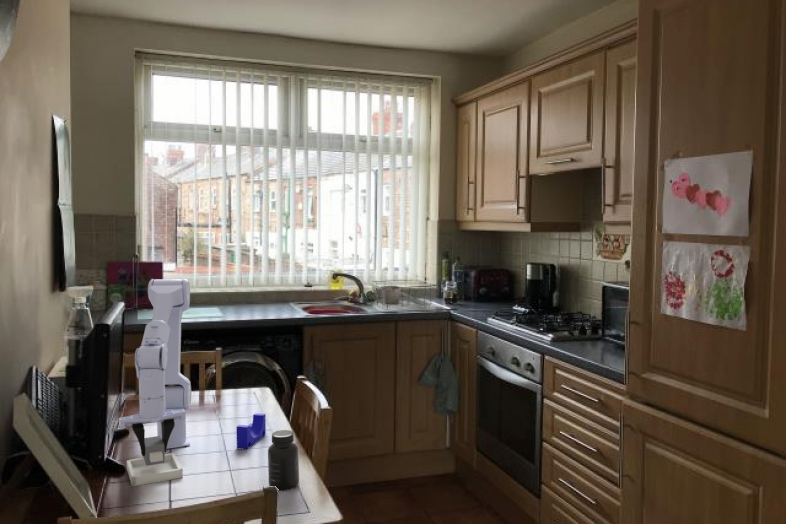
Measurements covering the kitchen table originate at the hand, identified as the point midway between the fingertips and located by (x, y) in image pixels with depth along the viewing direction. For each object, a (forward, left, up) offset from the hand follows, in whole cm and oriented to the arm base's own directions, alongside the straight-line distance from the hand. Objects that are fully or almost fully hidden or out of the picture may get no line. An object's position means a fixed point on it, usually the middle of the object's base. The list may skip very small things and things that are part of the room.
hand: (153, 452), depth 156 cm
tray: (0, 0, -5) cm, 5 cm away
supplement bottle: (+21, +25, -5) cm, 33 cm away
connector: (+1, 0, -2) cm, 2 cm away
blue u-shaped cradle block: (-12, +26, -5) cm, 29 cm away
